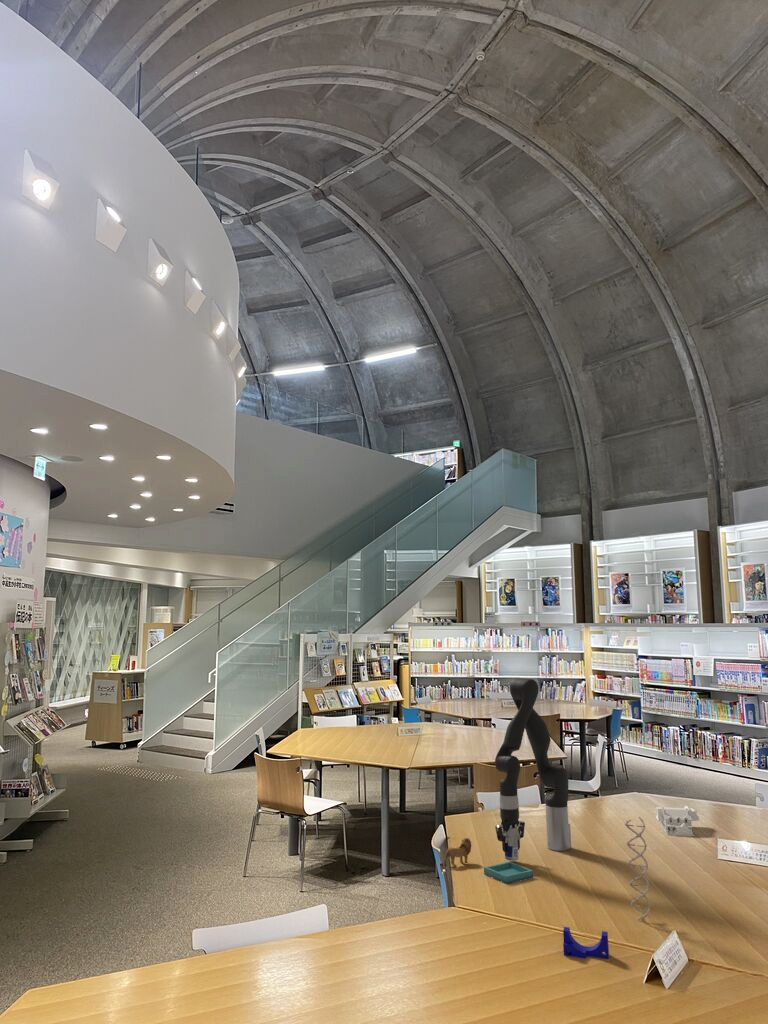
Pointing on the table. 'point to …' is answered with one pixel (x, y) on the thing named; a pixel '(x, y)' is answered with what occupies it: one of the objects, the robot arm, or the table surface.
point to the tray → (508, 872)
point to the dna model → (637, 870)
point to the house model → (677, 820)
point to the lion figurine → (459, 852)
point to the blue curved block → (582, 951)
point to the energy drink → (512, 845)
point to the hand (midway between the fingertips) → (511, 850)
